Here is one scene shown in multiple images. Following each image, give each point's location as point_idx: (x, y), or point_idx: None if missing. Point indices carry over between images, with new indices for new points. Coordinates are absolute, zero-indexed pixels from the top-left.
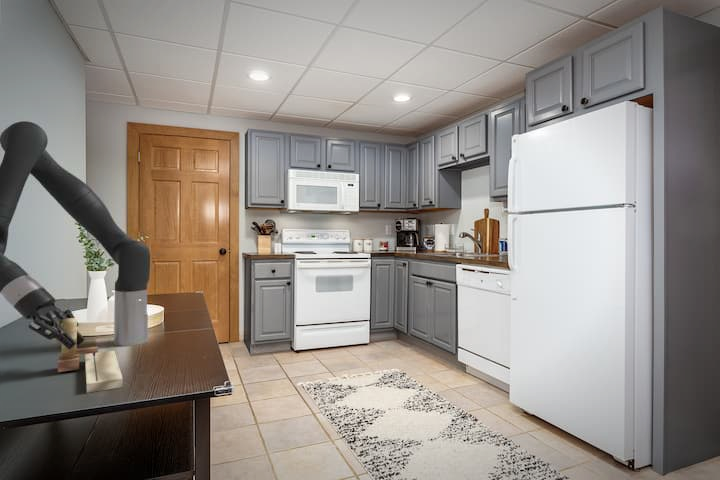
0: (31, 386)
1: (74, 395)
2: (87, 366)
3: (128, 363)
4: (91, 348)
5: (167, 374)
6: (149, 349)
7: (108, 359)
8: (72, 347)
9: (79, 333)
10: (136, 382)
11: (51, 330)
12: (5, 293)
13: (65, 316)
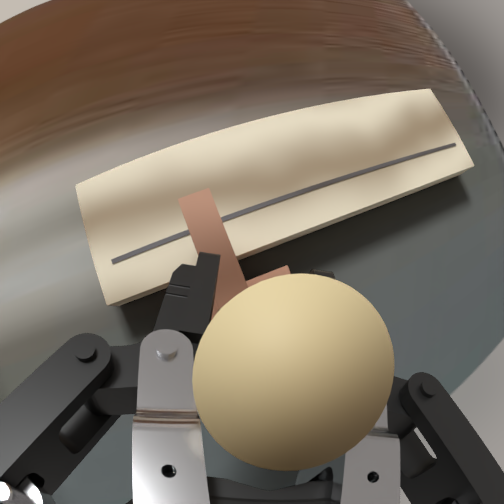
0: (403, 371)
1: (466, 203)
2: (322, 216)
3: (176, 122)
4: (219, 218)
5: (315, 22)
6: (18, 118)
7: (224, 160)
8: None
9: (194, 289)
10: (378, 76)
11: (455, 412)
12: None
13: (144, 496)
